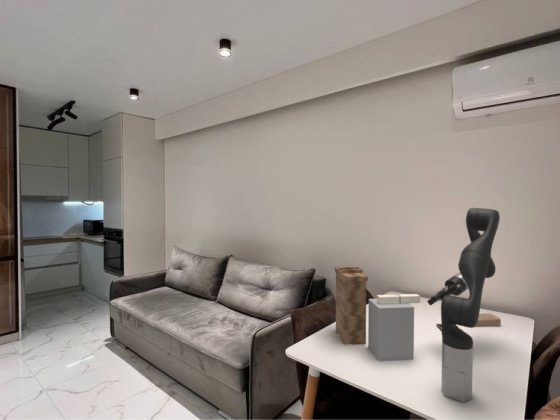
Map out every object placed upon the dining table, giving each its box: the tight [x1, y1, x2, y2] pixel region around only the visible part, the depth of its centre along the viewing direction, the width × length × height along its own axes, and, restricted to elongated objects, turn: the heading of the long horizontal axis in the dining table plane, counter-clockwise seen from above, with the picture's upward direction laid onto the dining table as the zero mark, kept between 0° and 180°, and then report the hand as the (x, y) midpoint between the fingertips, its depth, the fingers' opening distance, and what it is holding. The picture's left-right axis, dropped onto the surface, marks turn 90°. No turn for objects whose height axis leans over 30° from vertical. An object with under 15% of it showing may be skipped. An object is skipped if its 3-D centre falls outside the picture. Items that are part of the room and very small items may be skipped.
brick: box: [474, 312, 502, 328], centre depth 166 cm, size 16×8×5 cm, turn 92°
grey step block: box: [367, 298, 415, 362], centre depth 135 cm, size 15×12×22 cm
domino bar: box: [376, 293, 421, 304], centre depth 135 cm, size 18×3×3 cm, turn 94°
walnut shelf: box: [334, 266, 369, 345], centre depth 151 cm, size 10×20×34 cm, turn 4°
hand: (434, 300), depth 132 cm, fingers open, 8 cm apart
